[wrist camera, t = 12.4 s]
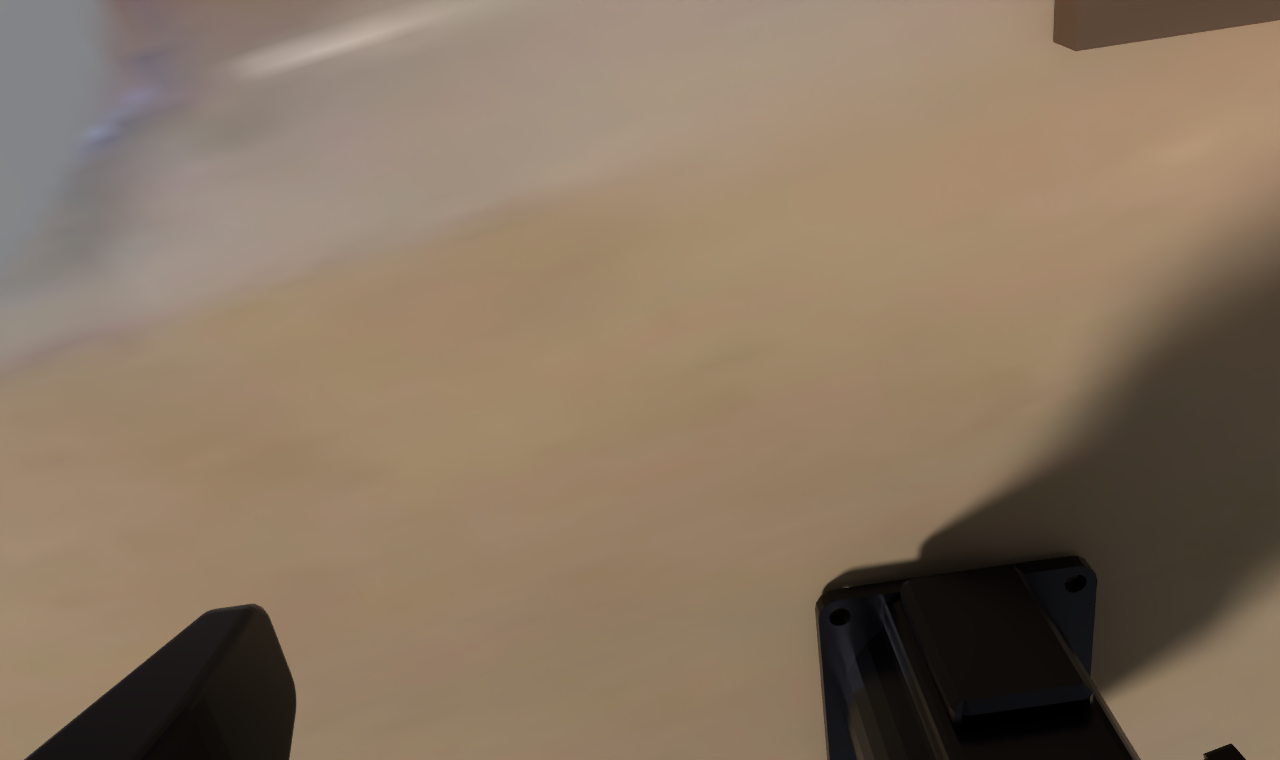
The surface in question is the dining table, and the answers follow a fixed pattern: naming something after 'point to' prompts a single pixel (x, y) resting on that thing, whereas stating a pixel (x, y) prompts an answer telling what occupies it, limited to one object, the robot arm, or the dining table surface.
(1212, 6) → the socket board
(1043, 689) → the robot arm
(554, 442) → the dining table surface
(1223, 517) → the dining table surface
